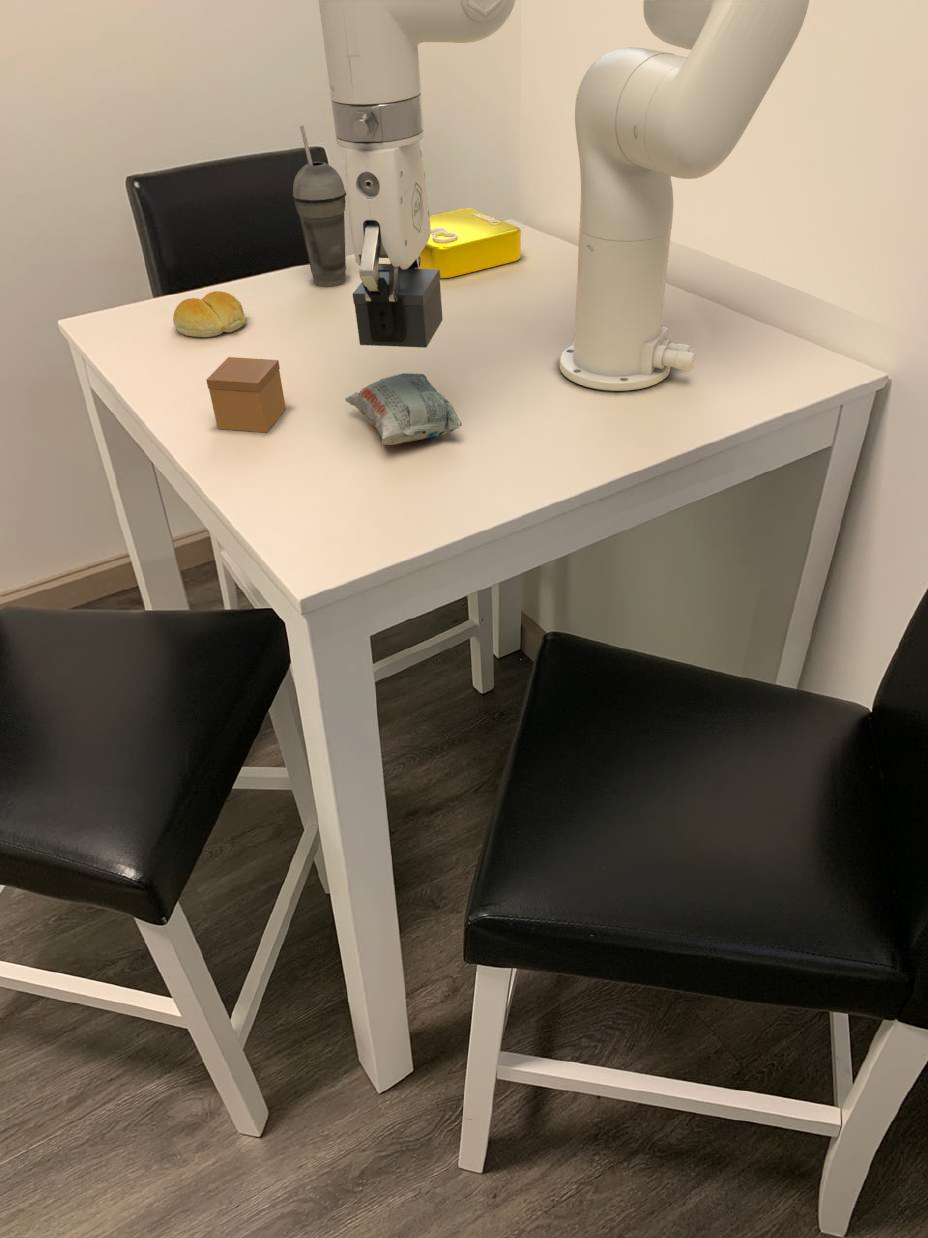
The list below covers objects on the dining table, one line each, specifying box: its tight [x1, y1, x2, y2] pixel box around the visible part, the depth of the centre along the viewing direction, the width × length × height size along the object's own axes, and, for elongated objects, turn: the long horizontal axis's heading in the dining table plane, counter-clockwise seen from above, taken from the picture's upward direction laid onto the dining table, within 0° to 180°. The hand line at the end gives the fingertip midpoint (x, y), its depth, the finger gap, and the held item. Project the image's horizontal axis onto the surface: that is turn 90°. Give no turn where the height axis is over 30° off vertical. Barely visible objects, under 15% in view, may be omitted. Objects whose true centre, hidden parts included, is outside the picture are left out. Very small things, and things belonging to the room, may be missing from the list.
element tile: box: [417, 207, 522, 279], centre depth 138 cm, size 15×15×5 cm
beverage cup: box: [292, 125, 347, 288], centre depth 126 cm, size 7×7×20 cm
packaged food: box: [345, 372, 463, 446], centre depth 96 cm, size 9×12×5 cm
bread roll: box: [172, 290, 248, 338], centre depth 119 cm, size 8×9×4 cm
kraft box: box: [205, 356, 287, 434], centre depth 98 cm, size 6×6×6 cm
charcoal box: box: [352, 268, 443, 349], centre depth 89 cm, size 7×7×5 cm
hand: (398, 323), depth 90 cm, fingers closed on charcoal box, 6 cm apart
